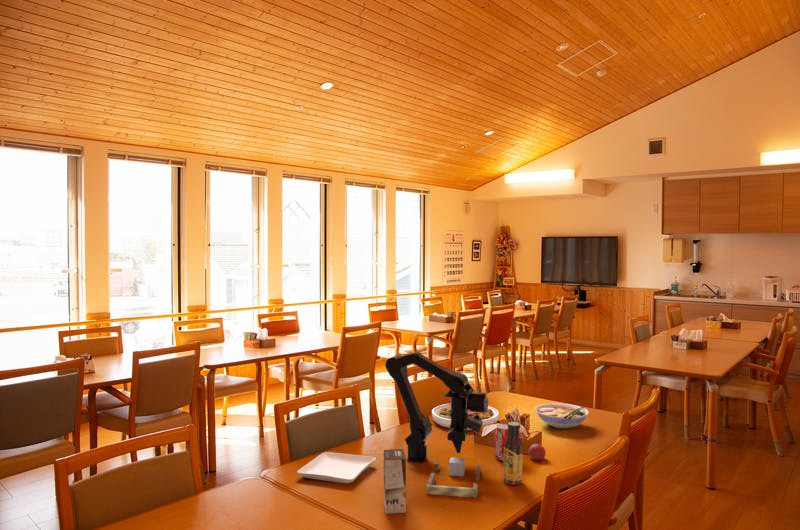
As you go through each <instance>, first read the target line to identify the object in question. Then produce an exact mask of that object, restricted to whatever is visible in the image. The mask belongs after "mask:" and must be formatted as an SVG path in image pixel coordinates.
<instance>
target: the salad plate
mask: <svg viewBox="0 0 800 530" xmlns="http://www.w3.org/2000/svg"><path fill="white" fill-rule="evenodd" d="M376 460H377V457H374V456H368V455H367V456H366V455H360V454H359V455H358V454H349V453H341V452H340V453H339V452H331V451H330V452H329V451H324V452H322V453H321V454H319V455H317V456H316V457H315V458H313V459H312V460H310V462H308V463H307V464H305V465H304V466H303V467H301V468H299V469H298V470H297V471H296V472H297V474H298V475H300V476H301V477H304V478H307V479H311V480H312V479H313V480H319V481H326V482H332V483H338V484H339V483H340V484H350V483H353V482H354V481H355V480H356V479H357V478H358V477H359V476H360V475H361V474H362V473H363V472H365V471H366V470H367V469H368V468H369V467H370V466H372V465H373V464H374V463H375V462H376Z"/></svg>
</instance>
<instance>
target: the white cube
mask: <svg viewBox="0 0 800 530" xmlns="http://www.w3.org/2000/svg"><path fill="white" fill-rule="evenodd" d="M448 466H449V467H448V471H449V472H448V475H449V476H457V477H464V476H465V473H466V472H465V471H466V458H464V457H450V459H449V461H448Z"/></svg>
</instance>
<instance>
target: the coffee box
mask: <svg viewBox="0 0 800 530" xmlns="http://www.w3.org/2000/svg"><path fill="white" fill-rule="evenodd" d="M406 469H407V457H406V454H405V450H404V449H403V448H390V449H383V503H384V505H383V506H384V513H385V514H386V515H388V514H406V513H407V489H406V488H407V470H406Z"/></svg>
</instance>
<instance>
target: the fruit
mask: <svg viewBox="0 0 800 530" xmlns="http://www.w3.org/2000/svg"><path fill="white" fill-rule="evenodd" d="M527 450H528V456H529V458H530V459H531V460H532V461H535V462H537V461H538V462H540V461H543V460H544V459H545V457H546V453H547V452H546V449H545V447H544V446H543V445H542V444H540V443H534V444H532V445H530V446H529V448H527Z"/></svg>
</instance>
